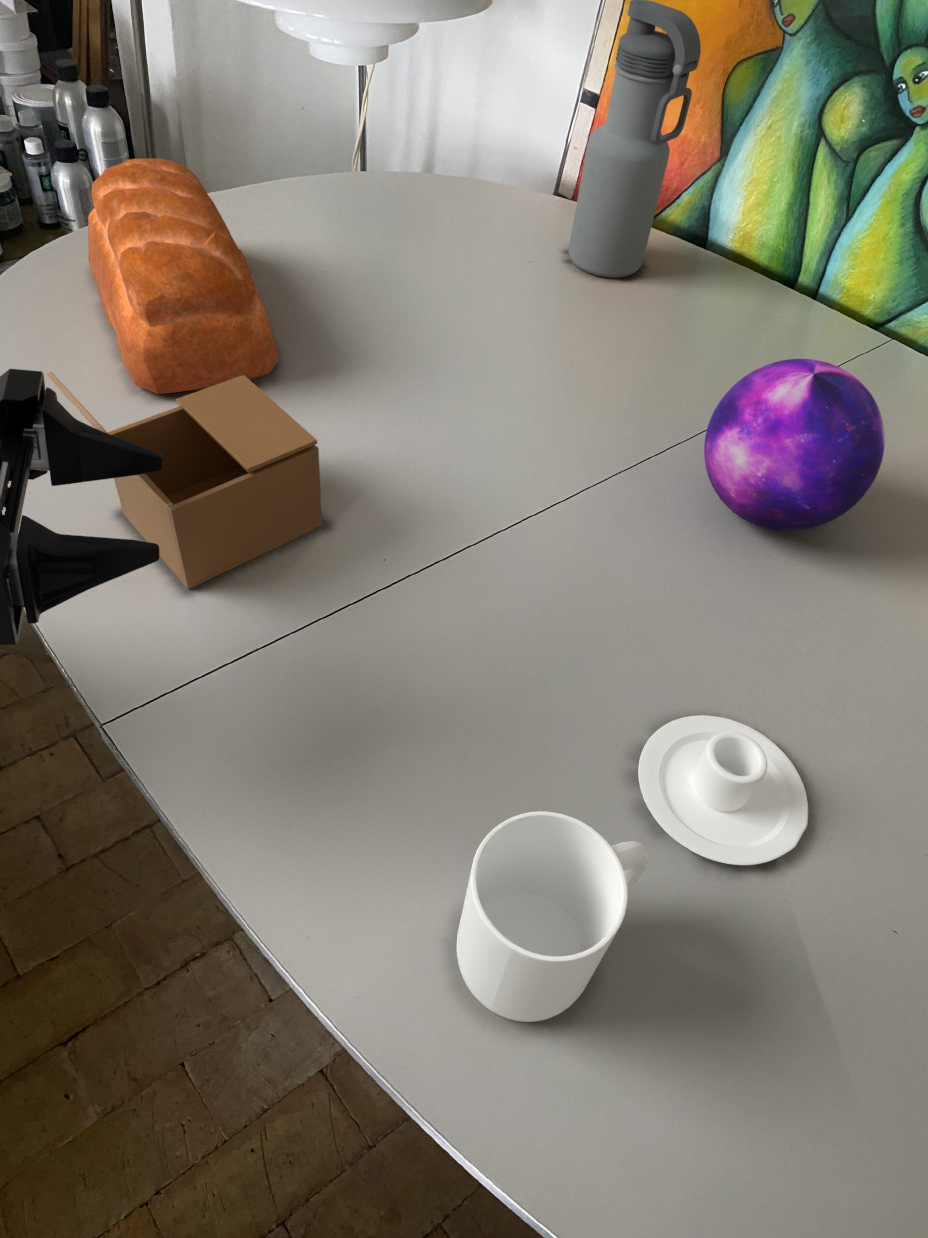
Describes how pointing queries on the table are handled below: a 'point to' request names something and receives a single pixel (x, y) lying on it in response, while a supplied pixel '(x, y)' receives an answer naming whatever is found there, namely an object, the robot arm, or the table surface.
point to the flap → (99, 427)
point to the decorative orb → (794, 444)
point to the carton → (222, 480)
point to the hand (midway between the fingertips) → (161, 504)
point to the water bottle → (633, 141)
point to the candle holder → (723, 790)
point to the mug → (542, 912)
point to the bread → (174, 280)
